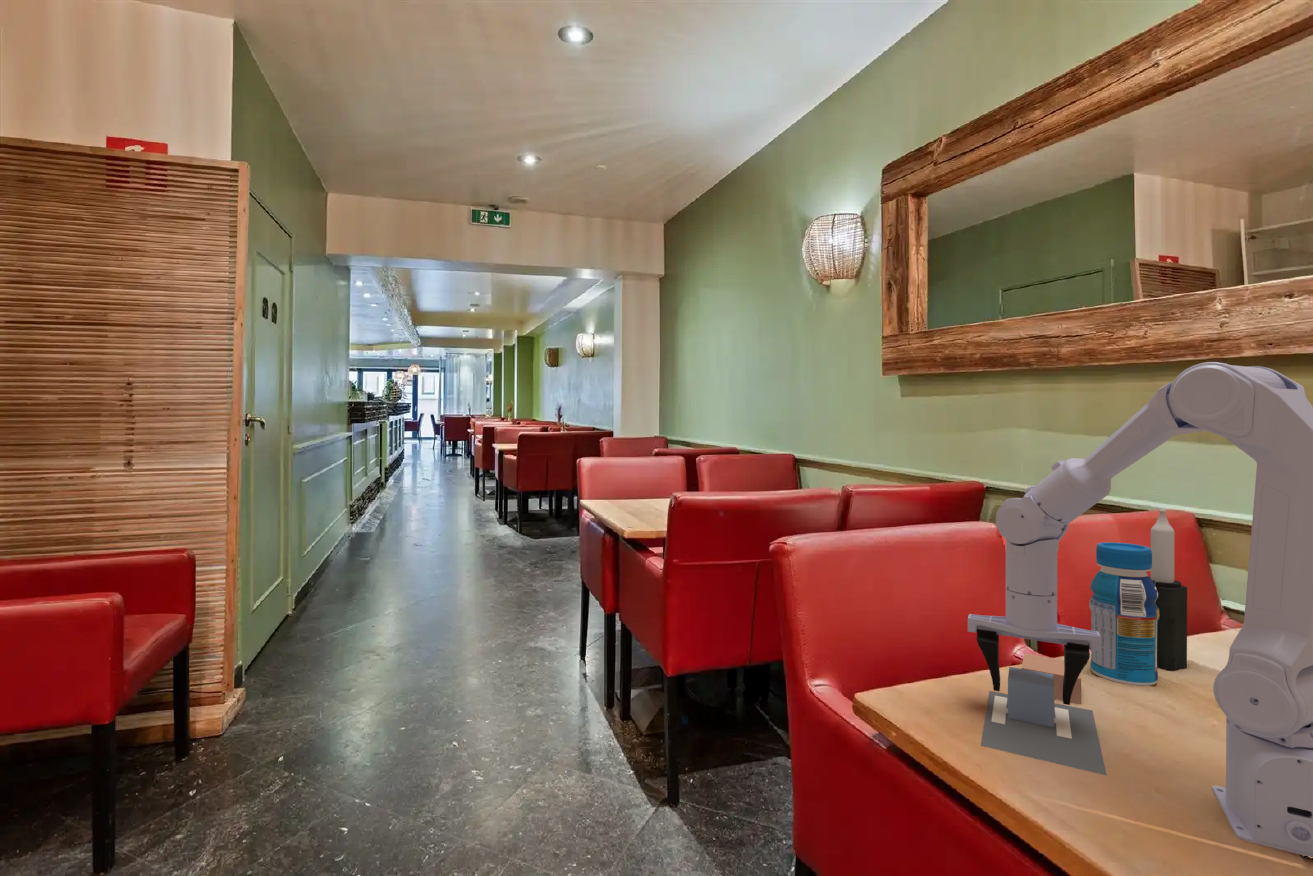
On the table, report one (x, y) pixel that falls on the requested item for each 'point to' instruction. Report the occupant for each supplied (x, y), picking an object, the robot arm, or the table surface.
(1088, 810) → the table surface
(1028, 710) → the blue cube
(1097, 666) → the blue supplement bottle
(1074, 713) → the letter mat
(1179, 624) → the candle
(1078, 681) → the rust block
